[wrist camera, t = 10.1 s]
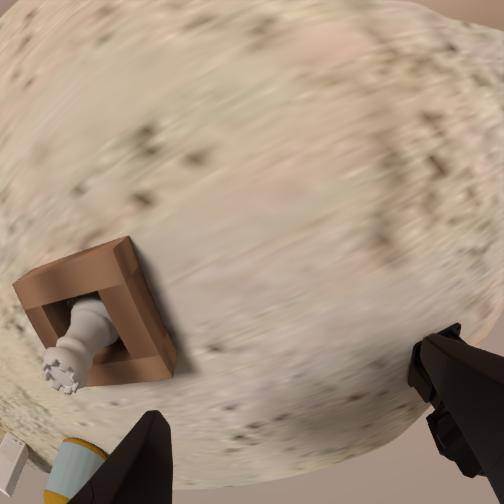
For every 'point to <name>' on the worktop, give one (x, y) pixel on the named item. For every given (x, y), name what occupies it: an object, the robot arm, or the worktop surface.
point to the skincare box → (11, 462)
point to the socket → (116, 303)
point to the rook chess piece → (79, 344)
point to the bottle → (72, 470)
